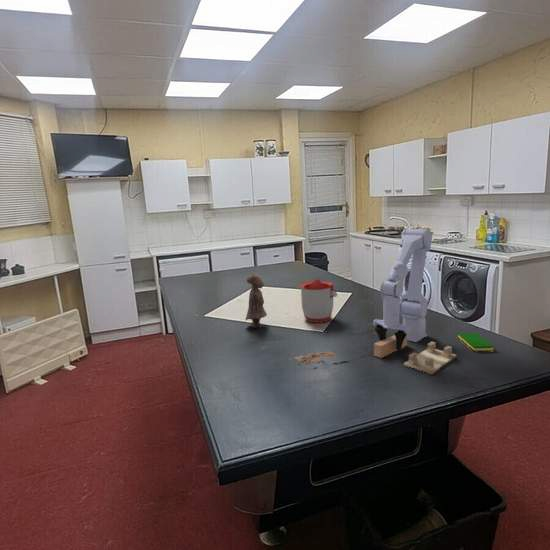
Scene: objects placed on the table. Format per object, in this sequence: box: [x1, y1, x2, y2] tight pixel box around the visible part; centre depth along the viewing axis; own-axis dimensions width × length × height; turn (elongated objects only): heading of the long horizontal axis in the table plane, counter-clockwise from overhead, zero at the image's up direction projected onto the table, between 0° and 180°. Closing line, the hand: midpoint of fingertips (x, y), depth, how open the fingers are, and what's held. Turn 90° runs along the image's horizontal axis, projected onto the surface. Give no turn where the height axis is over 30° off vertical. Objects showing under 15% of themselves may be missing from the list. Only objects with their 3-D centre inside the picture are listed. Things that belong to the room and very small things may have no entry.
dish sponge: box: [457, 332, 494, 351], centre depth 148 cm, size 7×14×2 cm, turn 178°
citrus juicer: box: [299, 278, 338, 323], centre depth 184 cm, size 16×17×20 cm
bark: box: [288, 351, 347, 365], centre depth 141 cm, size 22×12×1 cm, turn 111°
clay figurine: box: [245, 273, 268, 329], centre depth 178 cm, size 13×10×25 cm
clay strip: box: [373, 334, 408, 359], centre depth 146 cm, size 16×3×5 cm, turn 127°
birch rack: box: [403, 341, 457, 375], centre depth 135 cm, size 18×10×4 cm, turn 132°
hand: (390, 346), depth 146 cm, fingers open, 6 cm apart
